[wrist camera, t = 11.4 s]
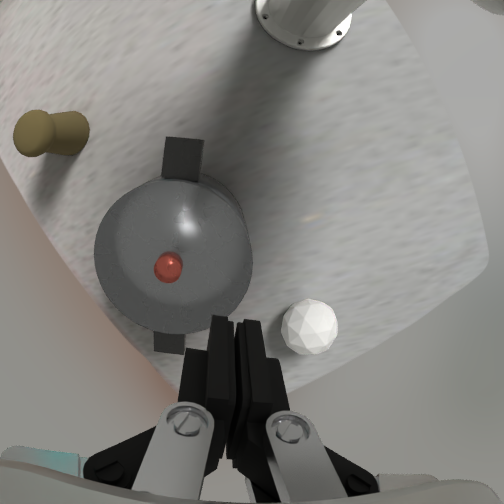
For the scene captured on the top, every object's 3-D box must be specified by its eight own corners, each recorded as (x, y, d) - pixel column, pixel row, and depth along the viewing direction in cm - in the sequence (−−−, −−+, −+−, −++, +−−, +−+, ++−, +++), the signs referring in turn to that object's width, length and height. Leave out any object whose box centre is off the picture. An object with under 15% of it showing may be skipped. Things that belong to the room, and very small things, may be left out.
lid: (99, 173, 28) (89, 176, 26) (263, 190, 30) (266, 194, 28) (100, 318, 33) (93, 330, 31) (240, 336, 35) (241, 349, 33)
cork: (59, 163, 37) (14, 172, 26) (46, 124, 35) (-1, 123, 24) (95, 143, 37) (55, 145, 26) (81, 103, 35) (39, 94, 24)
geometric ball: (306, 293, 49) (347, 293, 42) (311, 344, 48) (351, 350, 42) (266, 302, 44) (307, 304, 38) (272, 357, 44) (312, 367, 38)
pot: (131, 134, 37) (103, 133, 27) (258, 147, 39) (269, 148, 29) (124, 307, 44) (103, 346, 35) (233, 320, 46) (236, 363, 37)
